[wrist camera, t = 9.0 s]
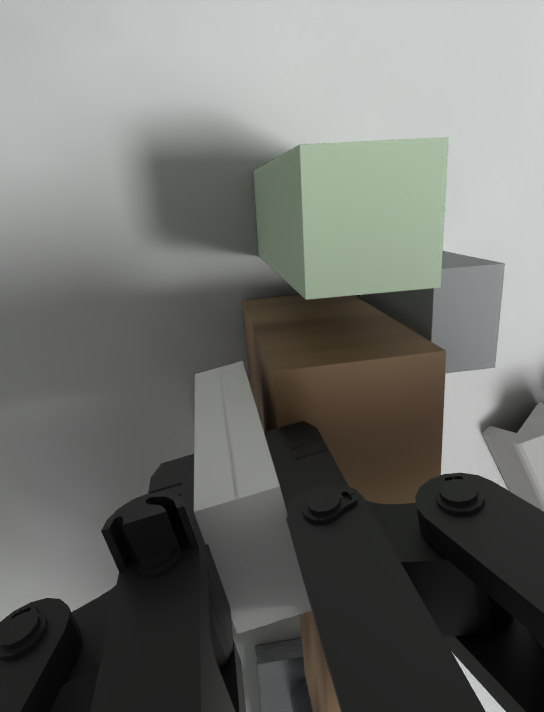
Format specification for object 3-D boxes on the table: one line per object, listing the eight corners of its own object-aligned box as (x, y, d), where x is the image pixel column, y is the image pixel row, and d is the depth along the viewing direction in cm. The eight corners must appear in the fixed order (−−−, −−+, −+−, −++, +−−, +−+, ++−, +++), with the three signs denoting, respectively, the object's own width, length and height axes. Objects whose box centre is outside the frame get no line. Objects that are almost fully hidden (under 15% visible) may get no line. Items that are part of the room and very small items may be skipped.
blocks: (409, 319, 20) (549, 398, 12) (264, 333, 19) (310, 427, 11) (414, 161, 18) (586, 130, 10) (253, 170, 17) (299, 144, 9)
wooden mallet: (353, 641, 24) (424, 840, 17) (276, 656, 24) (311, 868, 16) (345, 289, 18) (446, 350, 11) (242, 300, 18) (272, 371, 10)
